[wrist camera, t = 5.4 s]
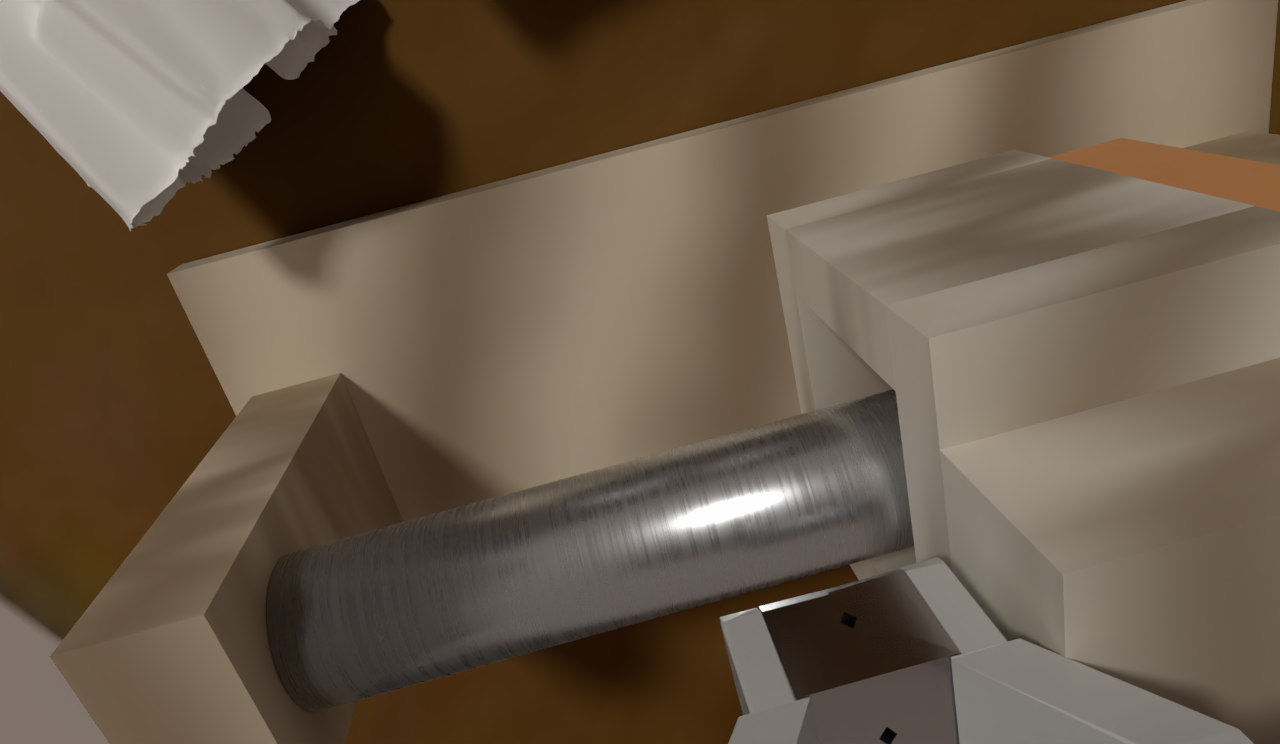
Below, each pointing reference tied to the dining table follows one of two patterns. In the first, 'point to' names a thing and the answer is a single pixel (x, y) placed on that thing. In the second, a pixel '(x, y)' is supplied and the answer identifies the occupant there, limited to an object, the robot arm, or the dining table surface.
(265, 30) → the pair of white wedges
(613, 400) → the stand
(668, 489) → the pipe
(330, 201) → the dining table surface
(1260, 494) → the sleeve
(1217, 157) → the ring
